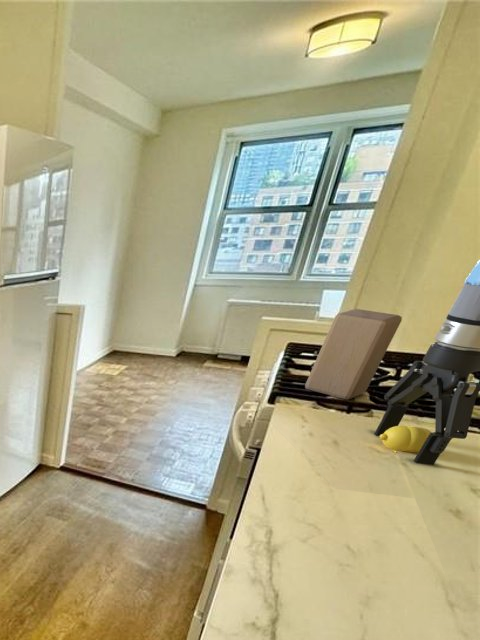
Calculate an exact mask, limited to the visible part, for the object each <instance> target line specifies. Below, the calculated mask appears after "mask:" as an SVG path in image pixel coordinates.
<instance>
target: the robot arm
mask: <svg viewBox="0 0 480 640" xmlns="http://www.w3.org/2000/svg"><path fill="white" fill-rule="evenodd" d="M434 339H435V342H433V343H430V345H429V347H428V349H427V350H426V353H425V355H424V356H423V358H422V360H414V361H413V363H412V364H411V366H410V367H409V370H408V371H407V372H405V374H403V376H402V377H401V378H400V379H399V380H398V381H396V383H395V384H394V385H393V386H392V387H391V388H390V389H389V390H388V391H387V392H386V393H385V394H384V396H383V398H384V400H387V405H388V407H387V408H386V410H385V411H384V414H383V416H382V419H381V420H380V422H379V424H378V426H377V428H376V430H375V432H374V436H376V437H379V436H380V435H381V434H384V432H385V431H386V430H388V429H389V428H391V427H395V426H400V423H401V421H402V420H403V418H404V416H405V415H406V413H407V411H408V409H407V408H409V407H410V406H409V404H411V403H413V402H414V401H416V400H418V398H420V397H422V396H424V395H425V394H427V393H429V395H431V396H432V401H434V402H435V422H434V423H435V424H434V425H435V426H434V432H432V433H430V434H429V436H428V438H427V439H426V441H425V443H424V444H423V446H422V448H421V449H420V451H419V453H418V452H417V453H416V455H415V458H414V459H413V462H414V463H415V464H420V465H421V464H422V465H432V466H434V465H435V464H436V462H437V460H438V458H439V457H440V455H441V454H443V452H445V450H446V449H447V447H448V446H449V444H450V442H451V441H452V440H453V439H459V440H460V439H461V440H465V439H466V438H467V436H468V433H469V429H470V424H471V420H472V416H473V413H474V408H475V404H476V401H477V400H476V399H477V397H478V395H479V393H480V383H474V382H469V376H470V375H471V374H473V373H476V372H479V371H480V259H479V260H478V261H477V263H476V264H475V266H474V267H473V268H472V270H471V271H470V273H469V274H468V276H467V277H466V278H465V280H464V284H463V286H462V287H461V290H460V292H459V293H458V295H457V297H456V299H455V301H454V302H453V304H452V306H451V308H450V310H449V312H448V314H447V315H446V317H445V320H444V322H443V323H442V325H441V326H440V327H439V330H438V332H437V334H436V336H435V337H434Z"/></svg>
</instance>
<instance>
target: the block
mask: <svg viewBox="0 0 480 640" xmlns="http://www.w3.org/2000/svg"><path fill="white" fill-rule="evenodd" d="M402 319H403V317H402V316H401V315H399V314H393V313H386V312H380V311H373V310H366V309H360V308H353V309H349V310H347V311H346V310H345V311H342V312H338V313H337V314H336V315H335V316H334V318H333V320H332V323H331V325H330V328H329V330H328V331H327V334H326V336H325V339H324V341H323V343H322V345H321V347H320V350H319V352H318V355H317V357H316V360H315V361H314V364H313V365H312V368H311V371H310V373H309V376H308V378H307V380H306V382H305V384H304V389H306V390H308V391H311V392H316V393H320V394H323V395H327V396H330V397H334V398H338V399H342V400H346V401H347V400H352V399H353V398H356V397H358V396H360V395H363V394H364V393H366V391H367V390H368V388H369V386H370V384H371V382H372V380H373V378H374V377H375V375H376V373H377V370H378V368H379V366H380V365H381V362H382V360H383V358H384V356H385V355H386V352H387V350H388V348H389V347H390V344H391V342H392V341H393V338H394V337H395V334H396V332H397V330H398V328H399V327H400V325H401V323H402Z"/></svg>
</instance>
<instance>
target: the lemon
mask: <svg viewBox="0 0 480 640" xmlns="http://www.w3.org/2000/svg"><path fill="white" fill-rule="evenodd" d="M430 433H433V432H432V431H431V430H429V429H428V428H426V427H422V426H414V425H413V426H412V425H398V426H395V427H391V428H389V429H388V430H386V431H385V432H384V434H381V435H380V436H378V437H379V439H380V440H381V441H382V443H383V446H385V447H386V448H387V449H389V450H391V451H393V452H394V453H395V454H397V453H398V452H399V451H400V452H410V453H417V454H418V453H419V451H420V449H421V448H422V446H423V444H424V443H425V441H426V439H427V438H428V436H429V434H430ZM397 451H398V452H397Z"/></svg>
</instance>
